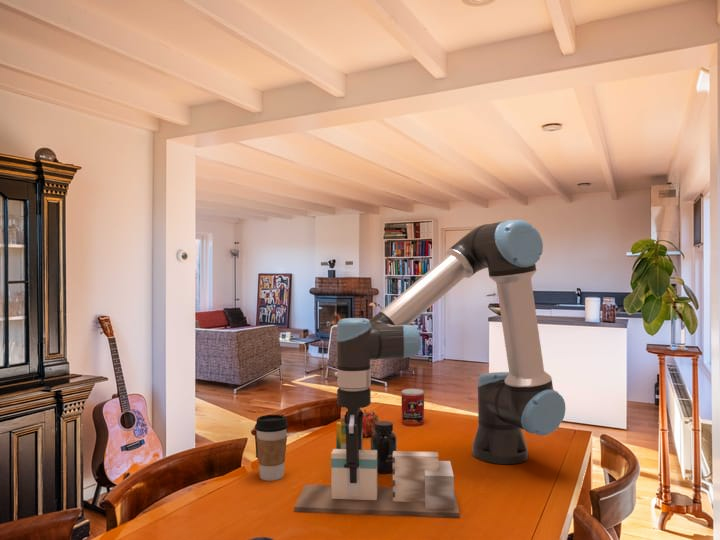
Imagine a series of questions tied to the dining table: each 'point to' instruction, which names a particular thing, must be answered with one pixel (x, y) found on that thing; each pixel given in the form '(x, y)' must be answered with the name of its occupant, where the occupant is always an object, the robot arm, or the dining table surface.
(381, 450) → the supplement bottle
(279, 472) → the coffee cup
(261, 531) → the dining table surface
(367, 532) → the dining table surface
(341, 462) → the blue-striped white box
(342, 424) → the crayon box
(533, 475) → the dining table surface
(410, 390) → the canned food
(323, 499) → the stepped block stand
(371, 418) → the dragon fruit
